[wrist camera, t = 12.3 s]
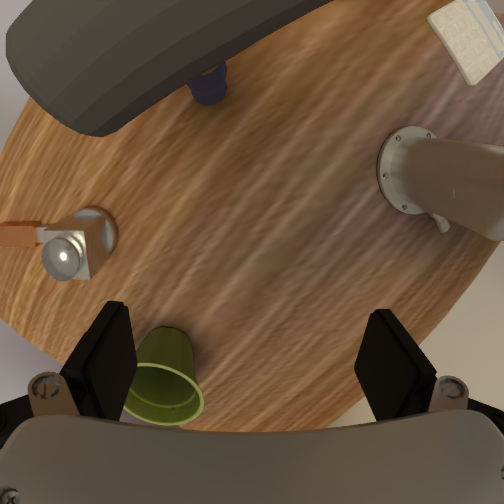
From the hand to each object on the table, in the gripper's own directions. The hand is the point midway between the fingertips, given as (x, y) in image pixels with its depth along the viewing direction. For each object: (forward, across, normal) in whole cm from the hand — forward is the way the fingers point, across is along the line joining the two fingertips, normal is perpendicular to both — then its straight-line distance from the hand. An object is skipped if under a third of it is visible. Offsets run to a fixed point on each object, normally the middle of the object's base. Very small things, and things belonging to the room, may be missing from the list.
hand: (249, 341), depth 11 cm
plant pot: (+27, +10, +22) cm, 37 cm away
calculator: (+31, -37, -34) cm, 59 cm away
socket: (+24, +19, +5) cm, 31 cm away
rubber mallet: (+28, +4, -13) cm, 31 cm away
